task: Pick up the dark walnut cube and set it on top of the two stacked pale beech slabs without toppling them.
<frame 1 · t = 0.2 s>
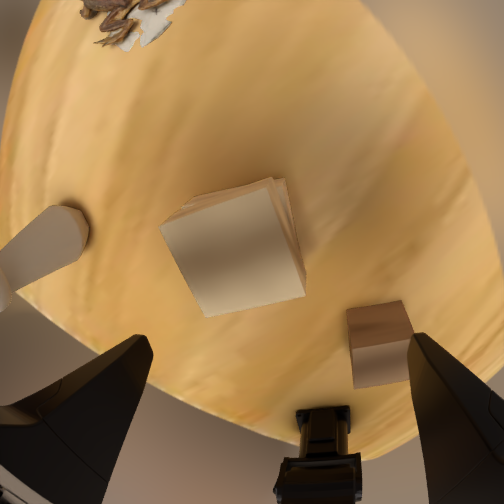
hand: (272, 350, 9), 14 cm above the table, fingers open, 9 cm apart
walnut cube: (374, 326, 25), on the table
beech slab upper: (241, 241, 20), point 3 cm above the table, touching beech slab lower
beech slab lower: (249, 229, 23), on the table, touching beech slab upper
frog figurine: (128, 2, 16), on the table
salt shaker: (75, 225, 26), on the table
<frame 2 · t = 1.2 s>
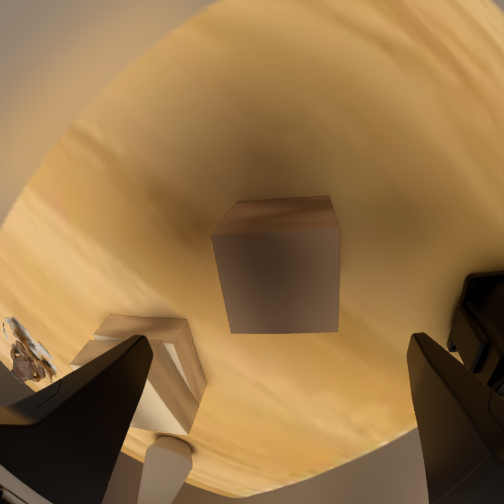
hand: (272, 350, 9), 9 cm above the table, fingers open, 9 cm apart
walnut cube: (286, 241, 17), on the table
beech slab upper: (142, 374, 20), point 3 cm above the table
beech slab lower: (159, 348, 23), on the table
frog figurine: (34, 353, 30), on the table
salt shaker: (175, 442, 30), on the table
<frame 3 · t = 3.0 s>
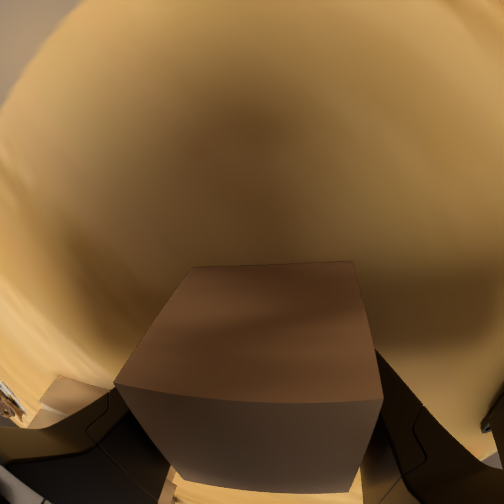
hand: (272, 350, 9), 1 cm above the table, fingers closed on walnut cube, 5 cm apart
walnut cube: (276, 329, 10), on the table, touching gripper
beech slab upper: (104, 451, 13), point 3 cm above the table, touching beech slab lower
beech slab lower: (121, 416, 16), on the table, touching beech slab upper
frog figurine: (3, 388, 23), on the table
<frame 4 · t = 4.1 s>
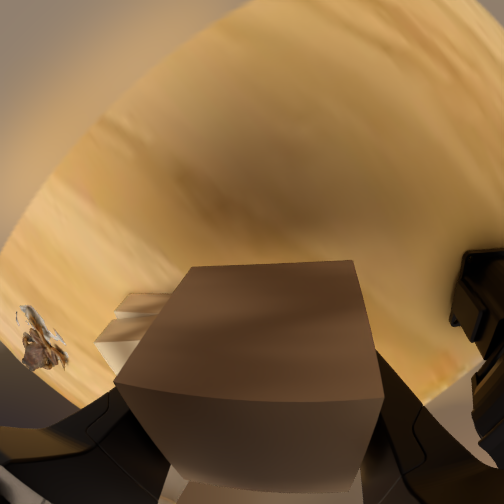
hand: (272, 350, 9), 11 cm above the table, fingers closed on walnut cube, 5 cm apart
walnut cube: (276, 328, 10), point 10 cm above the table, touching gripper
beech slab upper: (164, 350, 22), point 3 cm above the table, touching beech slab lower
beech slab lower: (177, 326, 25), on the table, touching beech slab upper
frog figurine: (47, 341, 32), on the table
salt shaker: (188, 428, 32), on the table
when the fingers open (8 cm above the table, at t = 6.3 s): walnut cube drops 2 cm, point 6 cm above the table.
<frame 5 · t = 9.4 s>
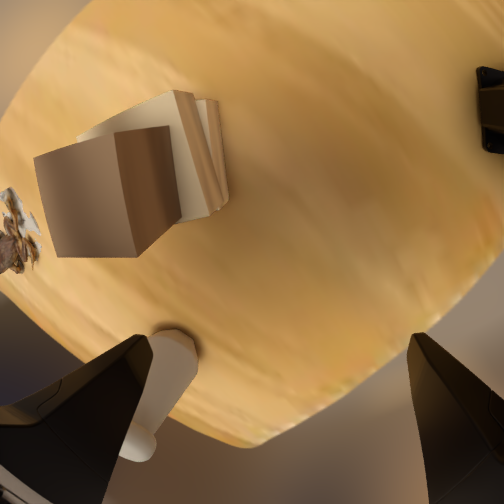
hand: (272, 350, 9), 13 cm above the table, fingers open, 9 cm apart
walnut cube: (135, 177, 15), point 6 cm above the table
beech slab upper: (158, 162, 18), point 3 cm above the table, touching beech slab lower
beech slab lower: (178, 156, 21), on the table, touching beech slab upper
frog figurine: (20, 238, 28), on the table
salt shaker: (177, 342, 28), on the table
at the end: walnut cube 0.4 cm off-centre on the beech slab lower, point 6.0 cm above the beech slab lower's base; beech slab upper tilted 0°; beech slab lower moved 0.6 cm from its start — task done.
